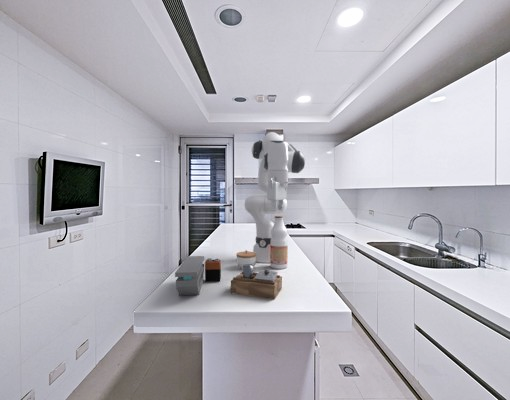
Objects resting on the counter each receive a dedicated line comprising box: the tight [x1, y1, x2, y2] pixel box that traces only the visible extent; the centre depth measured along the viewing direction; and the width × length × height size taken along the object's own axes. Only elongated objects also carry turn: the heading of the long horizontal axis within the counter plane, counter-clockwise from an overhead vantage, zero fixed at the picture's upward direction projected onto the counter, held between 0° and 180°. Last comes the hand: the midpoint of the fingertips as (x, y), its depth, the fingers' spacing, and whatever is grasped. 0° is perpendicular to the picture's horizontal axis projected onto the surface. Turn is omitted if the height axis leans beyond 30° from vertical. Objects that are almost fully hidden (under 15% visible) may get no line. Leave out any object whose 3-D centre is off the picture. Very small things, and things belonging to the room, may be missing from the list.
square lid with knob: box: [256, 269, 278, 282], centre depth 101 cm, size 7×7×4 cm
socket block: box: [230, 270, 283, 300], centre depth 103 cm, size 12×18×6 cm, turn 71°
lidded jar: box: [235, 249, 256, 270], centre depth 135 cm, size 11×11×9 cm
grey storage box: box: [174, 255, 205, 296], centre depth 104 cm, size 25×8×11 cm, turn 5°
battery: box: [204, 257, 222, 283], centre depth 115 cm, size 4×7×10 cm, turn 93°
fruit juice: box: [269, 215, 289, 270], centre depth 138 cm, size 9×9×28 cm
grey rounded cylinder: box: [242, 264, 254, 279], centre depth 104 cm, size 4×4×10 cm
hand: (277, 210), depth 107 cm, fingers open, 8 cm apart
